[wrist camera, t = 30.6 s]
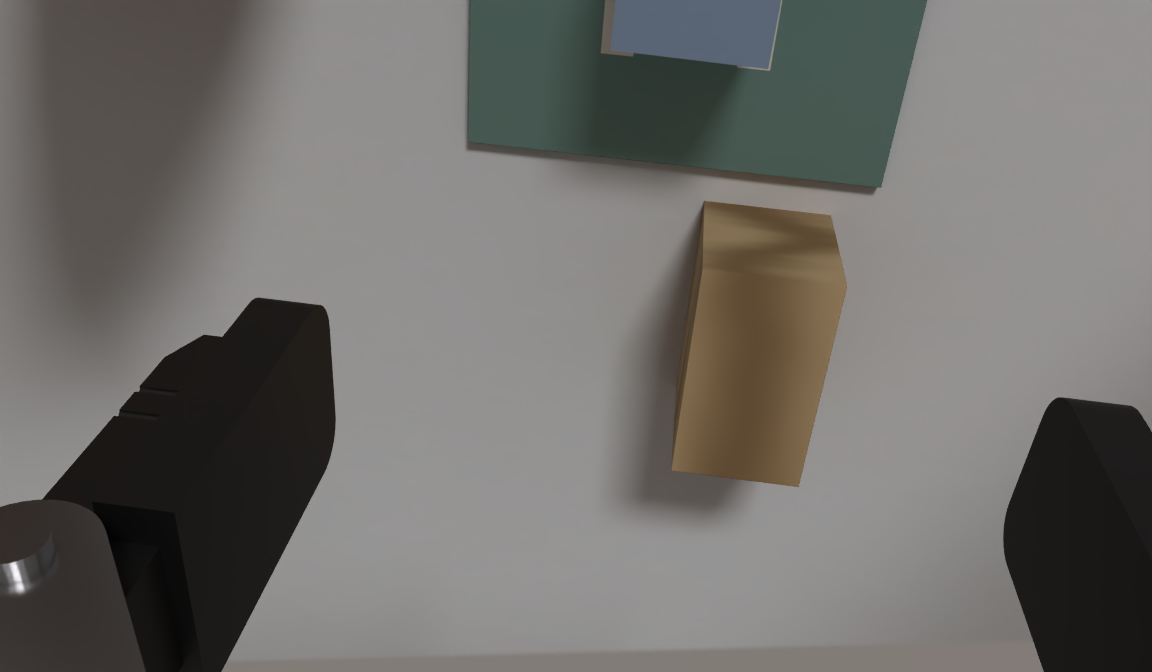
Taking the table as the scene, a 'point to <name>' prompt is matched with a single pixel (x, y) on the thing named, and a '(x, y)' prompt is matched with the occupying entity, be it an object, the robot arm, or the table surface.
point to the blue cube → (698, 29)
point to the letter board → (697, 89)
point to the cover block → (756, 342)
